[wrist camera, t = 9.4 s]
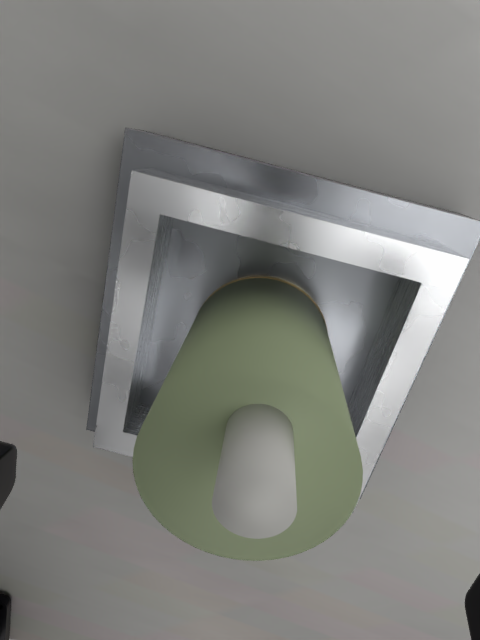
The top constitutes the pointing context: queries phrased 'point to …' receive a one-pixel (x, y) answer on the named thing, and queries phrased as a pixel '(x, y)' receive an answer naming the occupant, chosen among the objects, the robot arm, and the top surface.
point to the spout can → (251, 429)
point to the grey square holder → (268, 276)
